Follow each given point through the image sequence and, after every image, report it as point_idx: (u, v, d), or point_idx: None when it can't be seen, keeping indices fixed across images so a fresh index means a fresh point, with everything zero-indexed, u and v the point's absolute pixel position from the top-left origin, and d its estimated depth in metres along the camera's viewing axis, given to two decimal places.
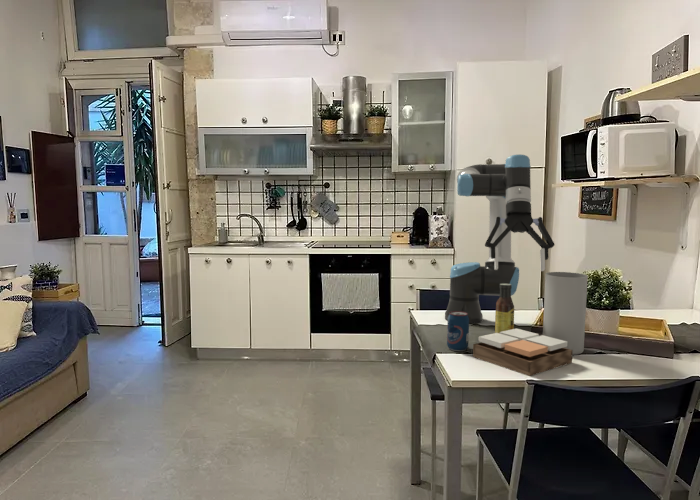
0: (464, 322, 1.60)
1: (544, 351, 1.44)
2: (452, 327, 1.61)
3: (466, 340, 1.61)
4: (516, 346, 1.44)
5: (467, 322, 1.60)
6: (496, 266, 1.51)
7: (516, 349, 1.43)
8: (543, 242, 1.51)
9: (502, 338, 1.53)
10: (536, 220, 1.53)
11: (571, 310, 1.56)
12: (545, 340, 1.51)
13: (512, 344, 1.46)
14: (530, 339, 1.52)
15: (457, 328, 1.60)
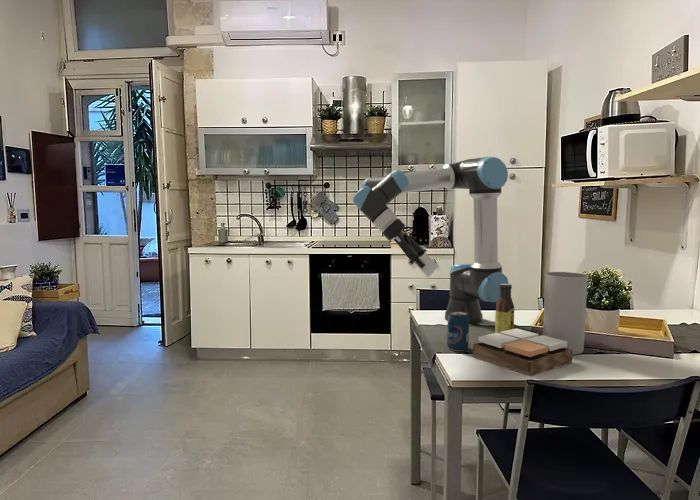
0: (464, 322, 1.60)
1: (544, 351, 1.44)
2: (452, 327, 1.61)
3: (466, 340, 1.61)
4: (516, 346, 1.44)
5: (467, 322, 1.60)
6: None
7: (516, 349, 1.43)
8: None
9: (502, 338, 1.53)
10: None
11: (571, 310, 1.56)
12: (545, 340, 1.51)
13: (512, 344, 1.46)
14: (530, 339, 1.52)
15: (457, 328, 1.60)
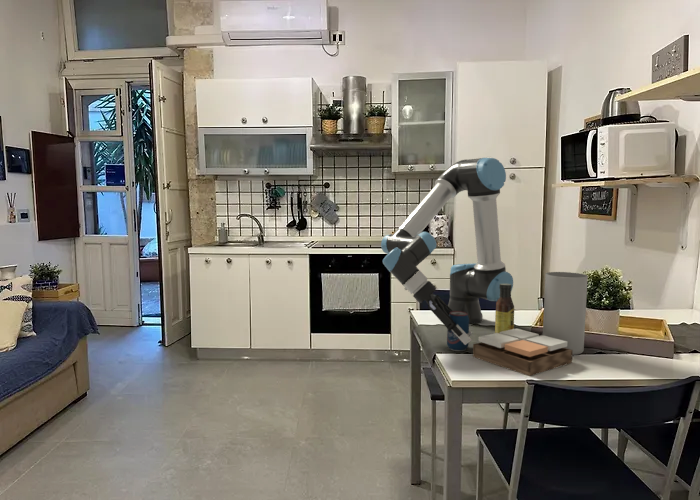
0: (464, 322, 1.60)
1: (544, 351, 1.44)
2: None
3: None
4: (516, 346, 1.44)
5: (467, 322, 1.60)
6: None
7: (516, 349, 1.43)
8: None
9: (502, 338, 1.53)
10: None
11: (571, 310, 1.56)
12: (545, 340, 1.51)
13: (512, 344, 1.46)
14: (530, 339, 1.52)
15: None
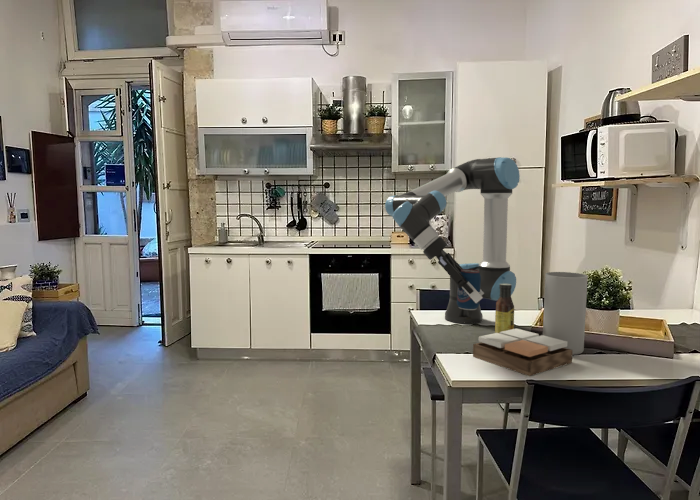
0: (475, 279, 1.53)
1: (544, 351, 1.44)
2: None
3: None
4: (516, 346, 1.44)
5: (478, 280, 1.53)
6: None
7: (516, 349, 1.43)
8: None
9: (502, 338, 1.53)
10: None
11: (571, 310, 1.56)
12: (545, 340, 1.51)
13: (512, 344, 1.46)
14: (530, 339, 1.52)
15: None
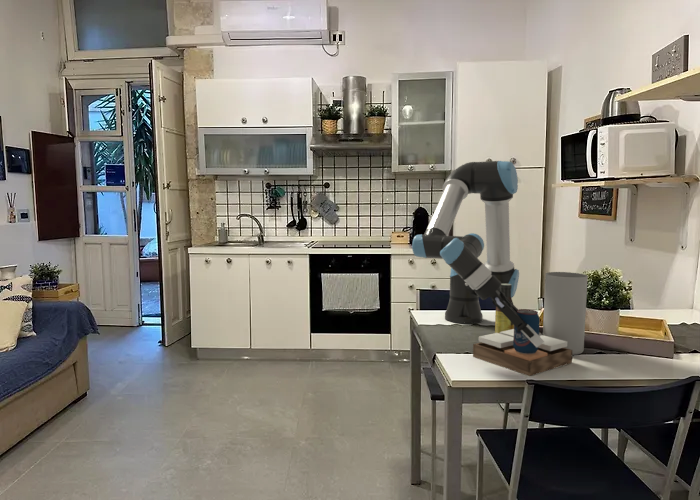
0: (535, 321, 1.41)
1: None
2: None
3: None
4: (516, 352, 1.44)
5: (538, 322, 1.42)
6: None
7: (516, 355, 1.43)
8: None
9: (502, 338, 1.53)
10: None
11: (571, 310, 1.56)
12: (545, 340, 1.51)
13: (512, 350, 1.47)
14: None
15: None
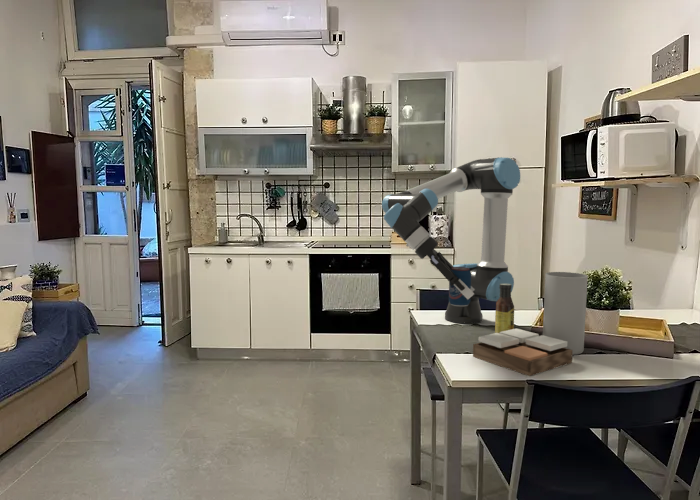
0: (466, 276, 1.58)
1: None
2: None
3: None
4: (516, 353, 1.44)
5: (469, 277, 1.59)
6: None
7: (516, 355, 1.43)
8: None
9: (502, 338, 1.53)
10: None
11: (571, 310, 1.56)
12: (545, 340, 1.51)
13: (512, 350, 1.47)
14: (530, 339, 1.52)
15: None
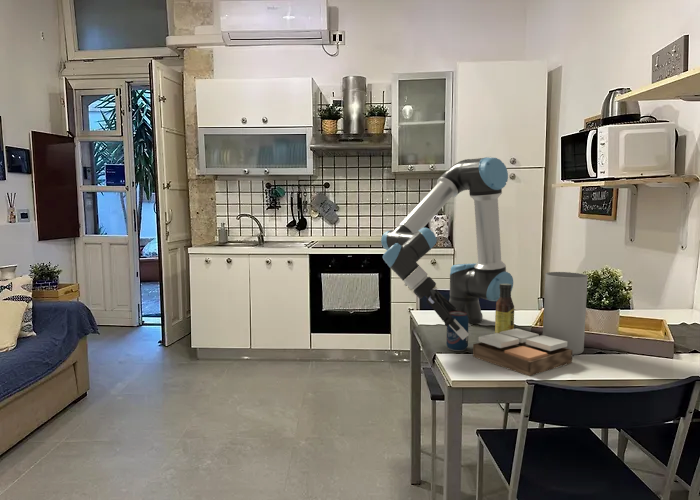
0: (463, 322, 1.60)
1: None
2: None
3: (466, 340, 1.61)
4: (516, 353, 1.44)
5: (466, 322, 1.60)
6: None
7: (516, 355, 1.43)
8: None
9: (502, 338, 1.53)
10: None
11: (571, 310, 1.56)
12: (545, 340, 1.51)
13: (512, 350, 1.47)
14: (530, 339, 1.52)
15: None
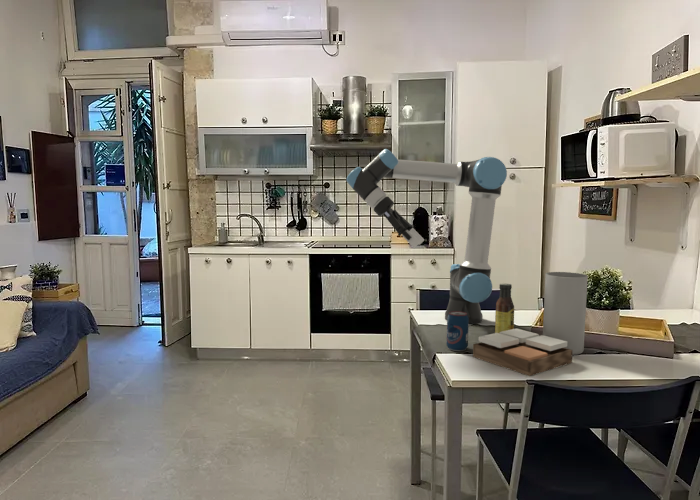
0: (464, 322, 1.60)
1: None
2: (452, 327, 1.61)
3: (466, 340, 1.61)
4: (516, 353, 1.44)
5: (466, 322, 1.60)
6: None
7: (516, 355, 1.43)
8: None
9: (502, 338, 1.53)
10: None
11: (571, 310, 1.56)
12: (545, 340, 1.51)
13: (512, 350, 1.47)
14: (530, 339, 1.52)
15: (457, 327, 1.60)
